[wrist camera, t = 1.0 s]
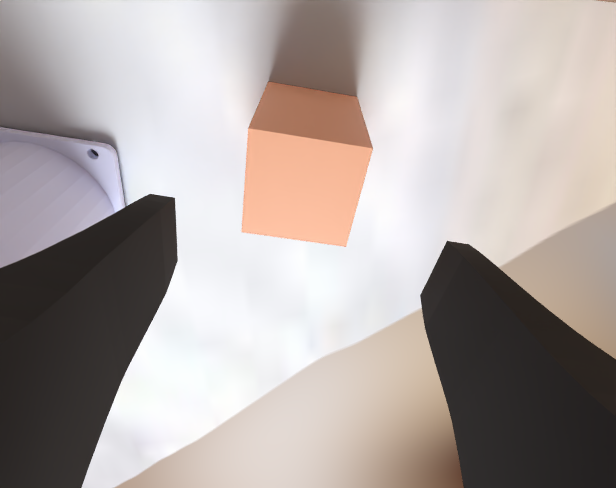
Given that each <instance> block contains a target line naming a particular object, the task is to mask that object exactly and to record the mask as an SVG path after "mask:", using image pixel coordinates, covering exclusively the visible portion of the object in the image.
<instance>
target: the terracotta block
mask: <svg viewBox="0 0 616 488" xmlns="http://www.w3.org/2000/svg"><path fill="white" fill-rule="evenodd" d="M372 150H373V147H372V144H371V141H370V137H369V134H368V131H367V128H366V124H365V121H364V118H363V115H362V111H361V108H360V105H359V102H358V99H357V97H355V96H349V95H343V94H338V93H332V92H326V91H320V90H314V89H309V88H303V87H297V86H291V85H285V84H280V83H274V82H268V84H267V86H266V88H265V91H264V93H263V95H262V98H261V100H260V102H259V104H258V107H257V109H256V111H255V114H254V116H253V118H252V121H251V123H250V125H249V128H248V140H247V156H246V171H245V187H244V202H243V217H242V232H244V233H252V234H259V235H266V236H273V237H280V238H287V239H294V240H301V241H309V242H316V243H323V244H330V245H337V246H344V247H346V245H347V241H348V237H349V234H350V230H351V226H352V223H353V219H354V215H355V212H356V208H357V205H358V201H359V197H360V194H361V190H362V186H363V183H364V179H365V175H366V172H367V168H368V165H369V161H370V157H371V154H372Z"/></svg>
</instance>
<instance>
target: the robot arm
mask: <svg viewBox="0 0 616 488" xmlns="http://www.w3.org/2000/svg"><path fill="white" fill-rule="evenodd" d="M91 149H93V150H95V151H96V152H97V153H98V156H96V155H94V154H93V153H92V151H91ZM177 260H178V259H177V236H176V213H175V198H173V197H166V196H160V195H154V194H149V195H147V196H145V197H143V198H141V199H139V200H137V201H135V202H134V203H132V204H130V205H128V206H126V207H125V202H124V196H123V189H122V183H121V176H120V170H119V163H118V157H117V153H116V150H115V149H114V148H113V147H112V146H110V145H109V144H106V143H100V142H93V141H87V140H81V139H74V138H68V137H61V136H55V135H48V134H42V133H35V132H29V131H22V130H16V129H9V128H3V127H0V488H81V487H82V484H83V481H84V479H85V476H86V473H87V470H88V467H89V464H90V462H91V459H92V456H93V454H94V451H95V448H96V445H97V443H98V440H99V437H100V435H101V432H102V429H103V427H104V424H105V421H106V419H107V416H108V414H109V411H110V409H111V406H112V403H113V401H114V398H115V396H116V393H117V391H118V388H119V386H120V383H121V381H122V379H123V377H124V375H125V372H126V370H127V368H128V366H129V364H130V362H131V360H132V358H133V356H134V354H135V353H136V351H137V349H138V347H139V345H140V343H141V341H142V339H143V337H144V335H145V333H146V331H147V329H148V327H149V326H150V324H151V322H152V320H153V318H154V316H155V314H156V312H157V310H158V308H159V306H160V304H161V302H162V300H163V298H164V296H165V294H166V292H167V289H168V286H169V284H170V281H171V278H172V275H173V272H174V269H175V266H176V263H177ZM420 296H421V304H422V312H423V318H424V324H425V329H426V333H427V337H428V340H429V344H430V347H431V351H432V354H433V357H434V361H435V364H436V367H437V371H438V374H439V377H440V381H441V384H442V387H443V391H444V394H445V397H446V401H447V404H448V408H449V411H450V416H451V419H452V423H453V429H454V434H455V440H456V445H457V450H458V455H459V460H460V467H461V473H462V479H463V486H464V488H616V359H614V358H613V357H611V356H610V355H609V354H607V353H605V352H604V351H603V350H601V349H600V348H598V347H597V346H595V345H594V344H592V343H591V342H590V341H588V340H587V339H586V338H584V337H583V336H581V335H580V334H579V333H577V332H576V331H575V330H573V329H572V328H571V327H569V326H568V325H567V324H566V323H564V322H563V321H562V320H561V319H559V318H558V317H557V316H555V315H554V314H553V313H552V312H550V311H549V310H548V309H547V308H545V307H544V306H543V305H541V303H539V302H538V301H537V300H536V299H534V298H533V297H532V296H531V295H530V294H528V293H527V292H526V291H525V290H524V289H523V288H521V287H520V286H519V285H518V284H517V283H516V282H514V281H513V280H512V279H511V278H510V277H508V276H507V275H506V274H505V273H504V272H503V271H501V270H500V269H499V268H498V267H497V266H496V265H495V264H493V263H492V262H491V261H490V260H489V259H487V258H486V257H485V256H484V255H482V254H481V253H480V252H479V251H477V250H476V249H475V248H473V247H472V246H470V245H469V244H463V243H457V242H450V241H447V242H446V244H445V246H444V248H443V250H442V253H441V255H440V257H439V259H438V261H437V263H436V265H435V267H434V269H433V271H432V273H431V275H430V277H429V279H428V281H427V283H426V285H425V287H424V289H423V291H422V293H421V295H420Z"/></svg>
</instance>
